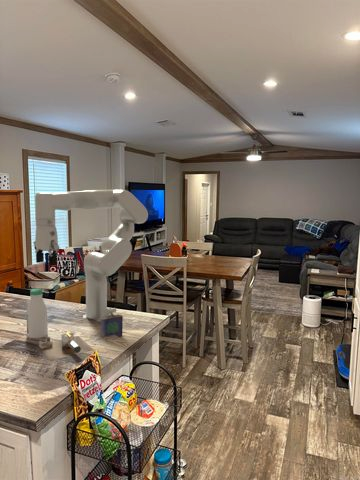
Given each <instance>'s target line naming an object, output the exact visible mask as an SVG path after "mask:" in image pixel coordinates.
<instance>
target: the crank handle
mask: <svg viewBox="0 0 360 480" xmlns="http://www.w3.org/2000/svg"><path fill="white" fill-rule="evenodd" d="M74 337H75V334H74V333H73V332H64V333H62V334H61V339H60V340H62V348H64V349H69V348H71V349H72V350H73V351H74V352H75V353H78V354H80V353H79V352H80V351H81V348H80V346H78V345H77V344H76V343H75V342H74Z"/></svg>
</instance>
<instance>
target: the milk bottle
mask: <svg viewBox="0 0 360 480" xmlns="http://www.w3.org/2000/svg"><path fill="white" fill-rule="evenodd" d="M29 293H30V295H29V296H30V299H29V302H28V305H27V308H26V336H27V338H29V339H39V338H41V339H42V338H44V337H46V336H47V335H48V331H49V330H48V309H47V308H48V307H47V305H46V303H45V301H44V299H43V289H42V288H33V289H31V290H30V291H29Z"/></svg>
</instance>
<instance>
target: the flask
mask: <svg viewBox="0 0 360 480" xmlns="http://www.w3.org/2000/svg"><path fill="white" fill-rule="evenodd" d="M113 313H114V312H110V315H109V316H108V317H104V318H101V322H100V337H102V338H105V337H109V336H116V337H118V338H122V337H123V321H124V319H123V318H124V317H123V315H122V314H113Z"/></svg>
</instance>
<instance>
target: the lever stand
mask: <svg viewBox="0 0 360 480" xmlns="http://www.w3.org/2000/svg"><path fill="white" fill-rule="evenodd" d="M74 342H75V343H76V344H77V345H78V346H80V348H81V351H80V352H79V353H75V352H74V351H73V350H72V349H71V348H69V349H64V348H62V339H59V340H54V341H53V340H52V338H51V337H50V336H47V338H46V339H43V340H39V341H38V343H39V344H37V345H36V346H37V347H38V348H39V350H40V351H41V352H42V353H43V355H44V356H45V357H46V358H47V359H48V361H49V362H50V361H54V360H58V359H63V358H65V357H66V358H67V357H70V356H75V355H78V354H81V353H85V352H86V353H87V352H89V351H94V349H93V347H92V346H90V345H89V344H88V343H87V342H86V341H85V340H84V339H83V338H81V337H80V336H78V335H76V336H74Z"/></svg>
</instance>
